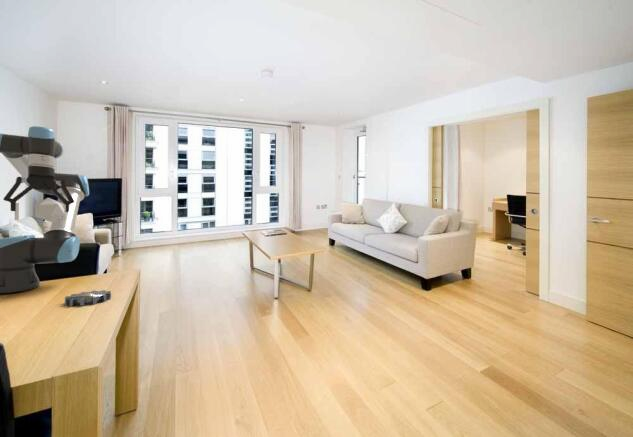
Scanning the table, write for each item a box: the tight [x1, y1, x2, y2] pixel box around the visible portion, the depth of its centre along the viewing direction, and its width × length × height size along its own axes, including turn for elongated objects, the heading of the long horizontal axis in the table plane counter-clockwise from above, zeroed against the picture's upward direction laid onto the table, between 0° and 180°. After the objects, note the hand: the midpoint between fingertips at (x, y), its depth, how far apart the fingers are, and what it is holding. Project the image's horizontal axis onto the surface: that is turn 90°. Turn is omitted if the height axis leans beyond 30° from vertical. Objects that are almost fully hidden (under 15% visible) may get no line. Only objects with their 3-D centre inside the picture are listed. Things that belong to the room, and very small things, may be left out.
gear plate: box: [64, 289, 112, 307], centre depth 114 cm, size 15×15×2 cm
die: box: [34, 197, 65, 223], centre depth 113 cm, size 8×9×10 cm
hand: (41, 220), depth 113 cm, fingers open, 13 cm apart
